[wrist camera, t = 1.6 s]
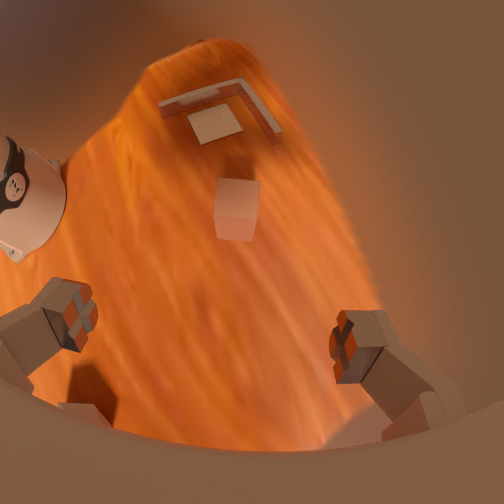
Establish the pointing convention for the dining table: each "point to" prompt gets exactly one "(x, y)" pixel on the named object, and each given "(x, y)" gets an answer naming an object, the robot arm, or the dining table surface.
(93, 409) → the grey faceted polyhedron
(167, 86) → the dining table surface
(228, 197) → the block
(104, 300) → the dining table surface
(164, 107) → the corner wall
